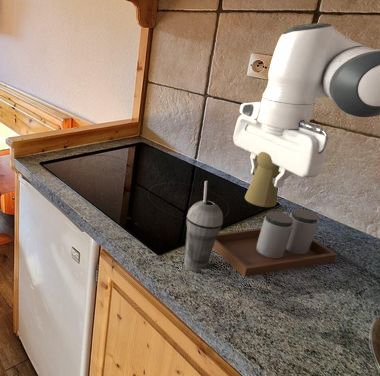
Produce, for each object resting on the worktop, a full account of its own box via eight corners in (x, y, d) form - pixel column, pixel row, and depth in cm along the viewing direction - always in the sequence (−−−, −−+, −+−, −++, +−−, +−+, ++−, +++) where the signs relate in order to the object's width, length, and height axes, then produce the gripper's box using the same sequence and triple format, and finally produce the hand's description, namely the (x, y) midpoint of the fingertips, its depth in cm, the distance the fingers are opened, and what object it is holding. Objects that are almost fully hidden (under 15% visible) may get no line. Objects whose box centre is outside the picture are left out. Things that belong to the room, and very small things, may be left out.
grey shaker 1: (270, 243, 97) (280, 209, 93) (289, 256, 92) (301, 222, 88) (250, 246, 95) (259, 212, 91) (268, 260, 90) (279, 225, 86)
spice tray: (286, 233, 102) (289, 223, 101) (333, 264, 90) (337, 254, 89) (204, 244, 97) (207, 234, 96) (243, 279, 85) (246, 268, 84)
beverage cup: (208, 279, 85) (228, 193, 76) (173, 268, 88) (189, 184, 79) (215, 262, 90) (234, 180, 82) (182, 252, 94) (197, 172, 85)
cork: (246, 191, 89) (258, 144, 84) (277, 198, 86) (291, 149, 81) (242, 202, 84) (255, 152, 80) (275, 209, 81) (290, 158, 77)
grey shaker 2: (294, 239, 98) (305, 206, 94) (314, 252, 93) (327, 218, 89) (275, 242, 97) (285, 209, 93) (294, 256, 92) (305, 221, 88)
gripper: (345, 129, 69) (320, 201, 75) (260, 101, 87) (245, 161, 93) (316, 131, 68) (292, 204, 73) (235, 102, 85) (221, 163, 91)
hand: (265, 180), depth 83 cm, fingers closed on cork, 4 cm apart
